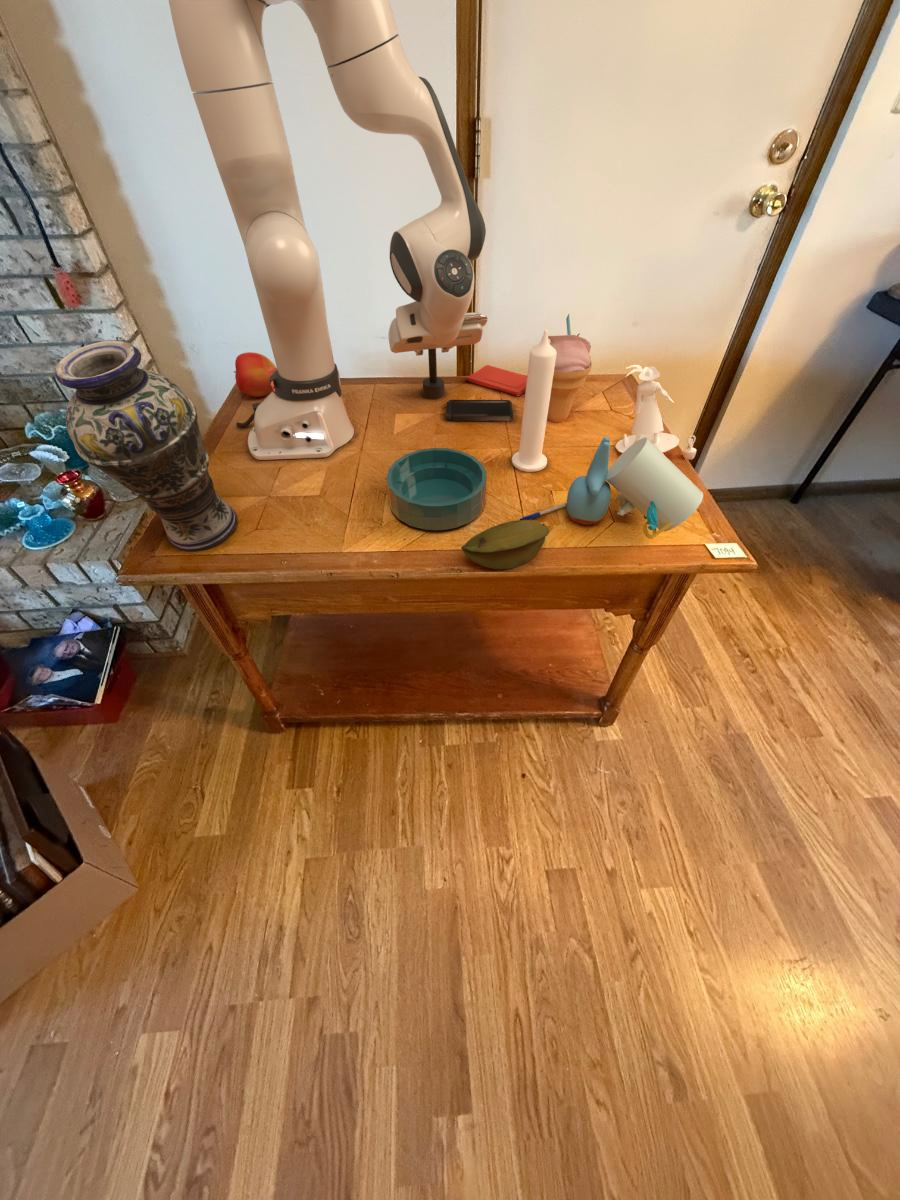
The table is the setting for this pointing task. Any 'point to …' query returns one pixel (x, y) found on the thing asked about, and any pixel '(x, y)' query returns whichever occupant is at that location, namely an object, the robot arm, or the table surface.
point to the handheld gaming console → (500, 380)
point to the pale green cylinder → (653, 488)
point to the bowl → (436, 488)
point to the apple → (253, 374)
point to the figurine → (651, 416)
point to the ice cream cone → (567, 372)
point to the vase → (144, 440)
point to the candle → (536, 407)
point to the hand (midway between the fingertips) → (431, 350)
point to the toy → (591, 489)
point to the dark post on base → (433, 379)
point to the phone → (479, 410)
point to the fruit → (507, 544)
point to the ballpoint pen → (543, 512)
